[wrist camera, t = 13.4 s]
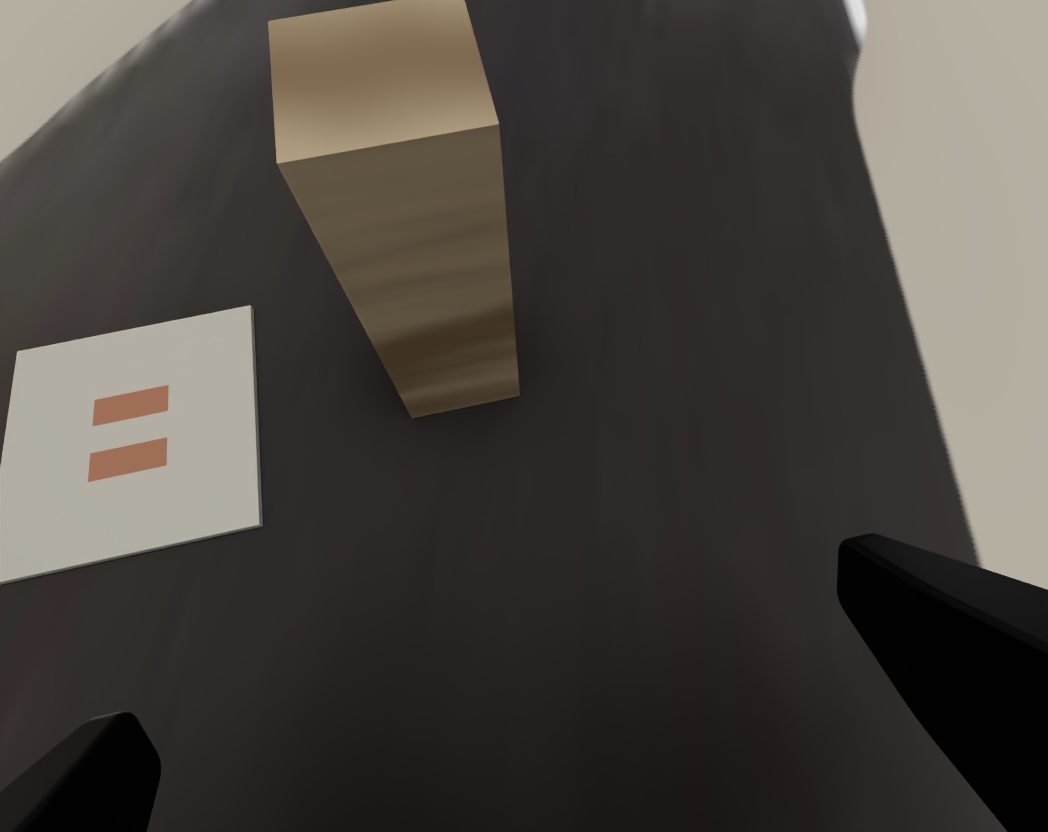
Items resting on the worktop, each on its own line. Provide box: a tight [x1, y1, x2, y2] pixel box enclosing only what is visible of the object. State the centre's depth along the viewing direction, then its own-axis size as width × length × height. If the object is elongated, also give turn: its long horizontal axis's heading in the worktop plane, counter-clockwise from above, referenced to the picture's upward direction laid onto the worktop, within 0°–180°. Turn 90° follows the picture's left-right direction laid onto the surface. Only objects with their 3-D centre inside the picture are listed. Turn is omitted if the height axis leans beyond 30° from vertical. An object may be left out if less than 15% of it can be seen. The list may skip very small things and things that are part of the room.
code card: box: [0, 305, 263, 585], centre depth 23 cm, size 10×10×1 cm
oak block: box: [268, 0, 520, 418], centre depth 18 cm, size 4×4×13 cm
